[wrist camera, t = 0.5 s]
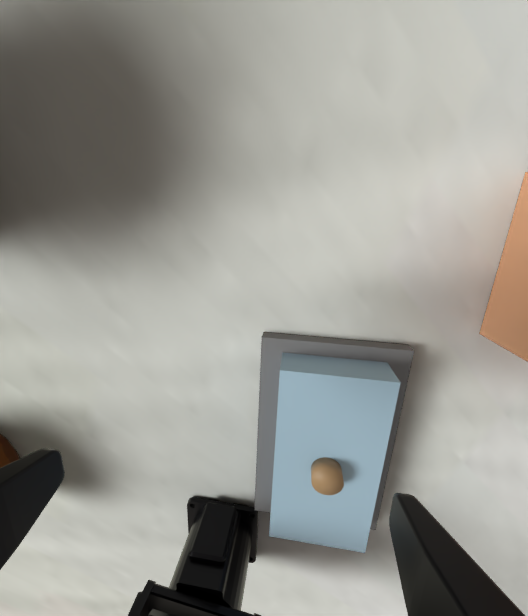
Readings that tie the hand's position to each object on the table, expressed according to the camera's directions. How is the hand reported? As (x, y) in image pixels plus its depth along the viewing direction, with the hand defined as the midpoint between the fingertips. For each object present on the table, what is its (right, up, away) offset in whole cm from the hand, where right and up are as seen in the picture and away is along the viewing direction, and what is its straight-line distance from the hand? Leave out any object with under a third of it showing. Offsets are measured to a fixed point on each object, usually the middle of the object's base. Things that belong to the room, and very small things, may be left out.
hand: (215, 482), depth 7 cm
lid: (+6, -5, +13) cm, 15 cm away
